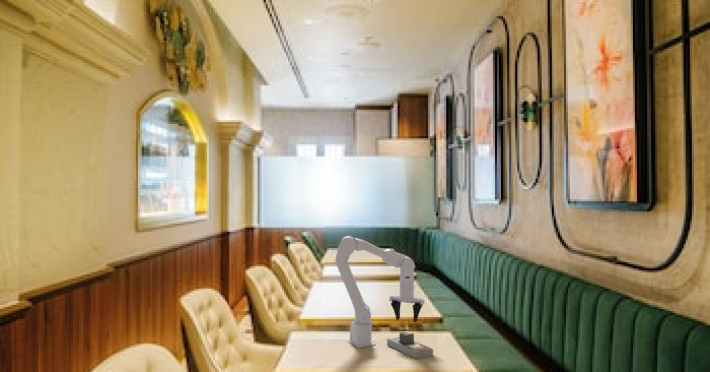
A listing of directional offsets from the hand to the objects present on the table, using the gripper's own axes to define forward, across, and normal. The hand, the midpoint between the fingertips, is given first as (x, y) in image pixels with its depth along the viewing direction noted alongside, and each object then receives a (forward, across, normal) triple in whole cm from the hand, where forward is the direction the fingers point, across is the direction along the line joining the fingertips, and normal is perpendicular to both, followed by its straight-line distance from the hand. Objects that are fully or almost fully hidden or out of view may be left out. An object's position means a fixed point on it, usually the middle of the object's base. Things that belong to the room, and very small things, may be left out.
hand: (406, 320), depth 215 cm
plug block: (+9, +3, -7) cm, 12 cm away
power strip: (+9, +4, -8) cm, 13 cm away
